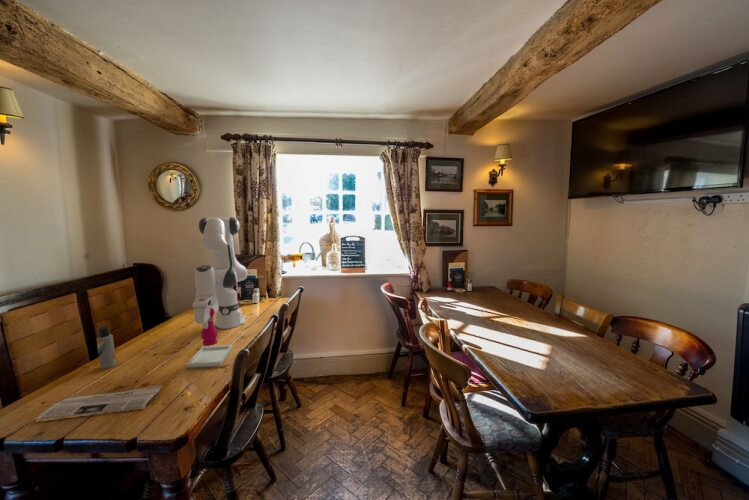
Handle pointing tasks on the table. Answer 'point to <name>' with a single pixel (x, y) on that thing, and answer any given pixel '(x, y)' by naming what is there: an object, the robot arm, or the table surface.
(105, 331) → the lotion bottle
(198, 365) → the tray
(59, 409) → the newspaper
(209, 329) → the pepper mill
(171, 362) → the table surface
